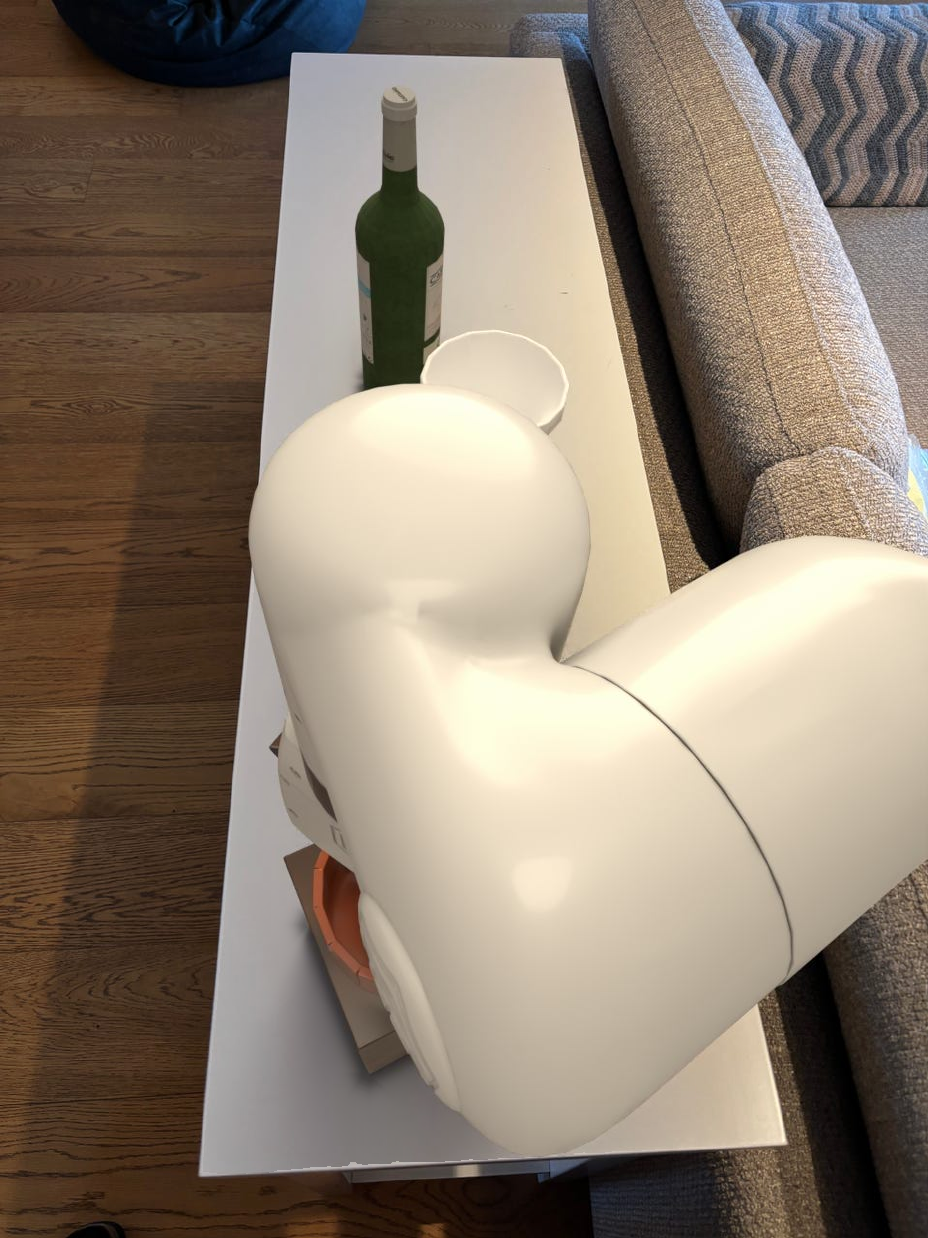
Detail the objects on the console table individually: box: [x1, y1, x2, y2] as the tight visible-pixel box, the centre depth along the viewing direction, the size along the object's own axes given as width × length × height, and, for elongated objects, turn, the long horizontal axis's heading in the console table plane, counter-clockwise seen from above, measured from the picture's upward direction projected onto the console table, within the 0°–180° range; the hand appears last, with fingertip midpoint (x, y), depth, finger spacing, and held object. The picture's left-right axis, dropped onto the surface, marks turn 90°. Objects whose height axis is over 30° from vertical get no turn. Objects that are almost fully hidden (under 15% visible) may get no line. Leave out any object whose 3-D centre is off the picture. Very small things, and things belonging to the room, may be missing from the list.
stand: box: [282, 843, 409, 1075], centre depth 56 cm, size 11×11×17 cm
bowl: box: [313, 850, 380, 996], centre depth 47 cm, size 10×10×4 cm
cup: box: [420, 329, 571, 436], centre depth 79 cm, size 12×12×15 cm
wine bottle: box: [354, 85, 446, 391], centre depth 80 cm, size 8×8×30 cm
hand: (412, 876), depth 44 cm, fingers closed on pill bottle, 5 cm apart
